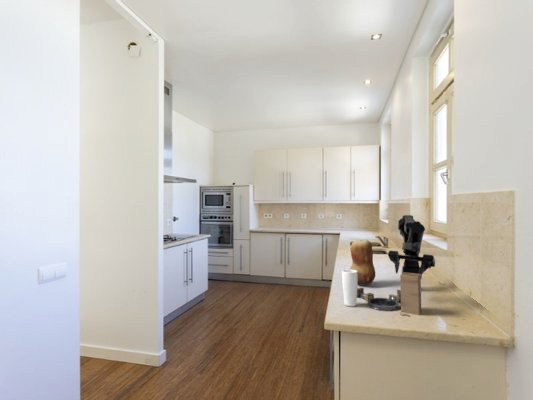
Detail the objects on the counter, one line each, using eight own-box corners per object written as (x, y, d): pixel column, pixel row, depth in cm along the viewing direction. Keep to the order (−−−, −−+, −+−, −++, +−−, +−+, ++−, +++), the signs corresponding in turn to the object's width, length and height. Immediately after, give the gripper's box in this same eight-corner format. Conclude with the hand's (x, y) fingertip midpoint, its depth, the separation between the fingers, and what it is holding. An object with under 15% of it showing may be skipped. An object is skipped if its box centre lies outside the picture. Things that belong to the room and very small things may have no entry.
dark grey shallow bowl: (386, 299, 139) (386, 296, 139) (406, 309, 126) (406, 305, 126) (361, 302, 136) (361, 299, 136) (379, 312, 123) (378, 308, 123)
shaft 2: (398, 298, 141) (398, 289, 141) (406, 300, 138) (406, 291, 138) (388, 301, 136) (388, 292, 136) (396, 303, 133) (396, 294, 133)
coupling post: (404, 307, 128) (403, 272, 129) (421, 310, 125) (420, 274, 125) (401, 311, 123) (400, 275, 123) (418, 315, 119) (417, 277, 120)
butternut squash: (345, 283, 170) (344, 238, 171) (365, 281, 174) (364, 237, 175) (360, 289, 157) (359, 241, 157) (381, 287, 161) (380, 240, 162)
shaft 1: (355, 297, 144) (355, 288, 144) (362, 295, 145) (361, 287, 146) (367, 301, 136) (367, 293, 136) (374, 300, 138) (374, 291, 138)
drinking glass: (349, 308, 128) (349, 273, 128) (339, 304, 134) (338, 270, 134) (361, 306, 131) (360, 271, 131) (350, 301, 137) (349, 268, 137)
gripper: (388, 233, 140) (380, 262, 133) (433, 236, 128) (427, 268, 121) (394, 246, 147) (387, 274, 139) (437, 251, 135) (432, 282, 127)
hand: (407, 274), depth 131 cm, fingers open, 9 cm apart
